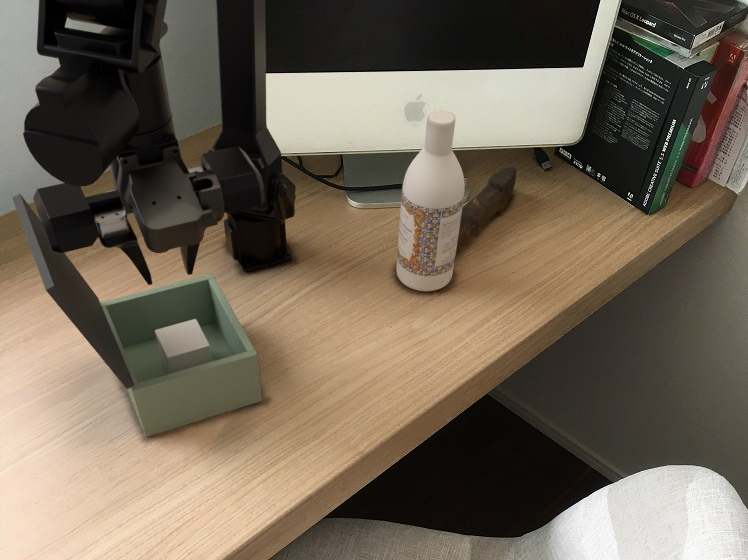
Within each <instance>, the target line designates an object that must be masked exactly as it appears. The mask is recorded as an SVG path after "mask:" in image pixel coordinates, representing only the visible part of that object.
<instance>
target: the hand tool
mask: <svg viewBox="0 0 748 560" xmlns="http://www.w3.org/2000/svg"><path fill="white" fill-rule="evenodd" d="M516 180H517V168H516V167H515V166H513V165H511V166H510V165H509V166H507V165H505V166H504V167H503V168H501V169H500V170H498V171H496V172H495V173H493V174H491V176H490V177H489V178H488V180H487V184H486V185H485V186H484V187H483V188H482V189H481V191H479V193H477V194H476V195H475V196H474V197H472V198H471V199H470V200H469V201H468V202H467V203H466V204H465V205H463V207H462V214H461V221H460V227H459V234H458V241H457V248H456V254H457V253H458V251H459V250H460V249H461V247H462V245H463V244H465V243H466V242H467V241H469V239H470V238H471V237H472V235H474V234H475V233H476V232H478V231H479V229H480V228H481V227H482V226H483V225H484V224H485V223H486V222H487V221H488V220H489V219H490V218H491V217H493V216H494V215H495V214H500V213H502V212H503V210H504V209H505V207H506V206H507V205H508V203H509V201H510V199H511V197H512V194H513V193H514V188H515V185H516Z"/></svg>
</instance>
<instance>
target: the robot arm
mask: <svg viewBox="0 0 748 560" xmlns="http://www.w3.org/2000/svg"><path fill="white" fill-rule="evenodd" d="M167 3H168V0H38V13H37V14H38V16H37V32H36V35H37V36H36V52H37V54H38V55H39V56H43V57H47V58H53V59H58V64H59V65H60V66H59V67H58V68H57V69H56V70H55V71H53V72H52V73H51V74H50V75H48V76H45V77H43V78H42V79H41V80H40V81H39V82H38V83H37V84H35V88H34V90H35V94H36V97H37V103H35V105H34V106H33V107H31V109H30V110H29V111H28V112H27V114H26V115H25V119H24V121H23V130H24V131H23V133H22V136H23V139H24V142H25V144H26V145H25V146H26V147H27V149H28V152H30V154H31V156H32V157H33V159H34V160H35V161H36V162H37V164H38V165H39V166H40V167H41V168H42V169H43V170H44V171H45V172H47V173H48V174H49V175H50V176H51V177H53V178H55V179H57V180H58V181H60V182H61V183H58V184H54V185H49V186H44V187H39V188H36V191H35V192H34V195H33V197H32V199H33V203H34V205H35V208H36V211H37V214H38V218H39V219H40V221H41V222H42V224H43V227H44V229H45V232H46V235H47V237H48V240H49V242H50V245H51V247H52V250H53V251H55V252H59V253H68V252H72V251H76V250H81V249H84V248H89V247H93V246H94V244H95V242H96V241H97V240H99V242H100V244H101V246H102V247H104V248H106V249H111V248H118V249H119V250H121V251H122V252H123V253H124V254H125V255H126V256H127V257H128V258H129V260H130V261H131V262H132V264H133V265H134V266H135V268H136V269H137V271H138V273H139V274H140V275H141V277H142V278H143V280H144V281H145V283H146V284H147V286H152V285H153V279H152V275H151V271H150V268H149V266H148V264H147V262H146V261H147V260H146V259H145V256H144V254H143V253H144V252H143V251H142V248H141V246H140V244H139V239H138V237H137V235H136V233H135V231H134V229H133V227H132V225H131V223H130V221H129V217H128V216H129V215H133V216H134V218H135V220H136V223H137V225H138V228H139V230H140V233H141V235H142V238H143V241H144V244H145V246H146V248H147V249H148V250H149V251H150V252H151V253H155V254H164V253H167V252H168V251H170V250H173V249H178V248H180V255H181V259H182V263H183V267H184V270H185V272H186V274H187V276H190V275H193V273H194V268H195V264H196V260H197V258H198V253H199V248H200V245H201V243H202V242H203V240H204V237H205V231H206V230H207V228H211V227H214V226H218V224H219V222H221V221H222V220H223V218H224V216H225V214H226V216H227V217H226V218H225V219H224V220H223V228H224V235H225V242H226V243H225V244H226V249H227V250H228V252H229V254H230V256H231V257H232V259H233V260H234V261H236V262H237V263H238V266H239V267H240V270H242V272H245V273H247V272H248V273H249V272H251V271H255V270H259V269H263V268H267V267H271V266H274V265H278V264H281V263H286V262H290V261H292V260H293V254H292V253H291V251H290V249H289V248H288V245H287V229H286V227H287V226H286V220H288V219H291V218H294V217H295V215H296V208H295V202H296V199H297V195H296V184H295V183H293V181H291V180H290V178H288V177H287V176H286V175H285V174H284V173H283V161H282V160H283V159H282V152H281V150H280V148H279V146H278V144H277V143H276V141H275V139H274V136H273V135H272V133H271V132H270V131H269V128H268V125H267V52H266V51H267V48H266V47H267V46H266V45H267V41H266V37H267V36H266V35H267V33H266V0H215V11H216V12H215V13H216V34H217V54H218V55H217V56H218V58H217V59H218V76H219V94H220V95H219V96H220V97H219V98H220V117H221V130H220V133H219V134H218V136H217V137H216V139H215V142H214V143H213V145H212V147H211V149H209V150H208V151H207V152H205V153H202V154H201V156H200V157H199V160H200V165H201V166H196V167H191V168H188V167H187V165H186V164H185V162H184V160H183V158H182V153H181V149H180V147H179V141H178V139H177V136H176V131H175V125H174V119H173V113H172V108H171V102H170V98H169V97H170V96H169V91H168V86H167V85H168V84H167V80H166V73H165V69H164V62H163V56H162V50H161V46H160V45H161V40H162V38H163V37H165V35H166V34H167V33H168V30H169V27H168V24H167V22H165V16H166V11H167V9H166V8H167ZM68 19H69V20H71V21H74V22H80V23H85V24H93V25H96V26H97V25H98V26H104V27H103V29H102V30H100V32H94V31H89V30H82V29H78V28H71V27H66V24H67V20H68ZM108 168H109V169H110V175H111V178H112V181H113V186H114V189H112V190H107V191H104V192H102V193H98V194H93V195H87V196H86V195H85V193H84V191H83V189H82V187H88V186H91V185H93V184H94V183H96V182H97V181H98V180H99V179H100V178H101V177H102V176H103V174H104V173H105V172H106V170H108Z"/></svg>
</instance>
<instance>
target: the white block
mask: <svg viewBox="0 0 748 560" xmlns="http://www.w3.org/2000/svg"><path fill="white" fill-rule="evenodd" d="M155 334H156V338H157V342H158V346H159V350H160V354H161V358H162V362H163V364H164V366H165V368H166V371H167V373H168V374H171V373H175V372H178V371H182V370H185V369H189V368H192V367H195V366H199V365H202V364H206V363H209V362H213V360H212V355H211V349H210V345H209V343H208V341H207V339H206V337H205V335H204V333H203V331H202V329H201V327H200V325H199V324H198V322H197V320H196V319H193V320H190V321H186V322H182V323H179V324H175V325H172V326H168V327H164V328H161V329H157V330H155Z"/></svg>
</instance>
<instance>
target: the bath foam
mask: <svg viewBox="0 0 748 560" xmlns="http://www.w3.org/2000/svg"><path fill="white" fill-rule="evenodd" d="M455 125H456V115H455V114H454V113H453V111H450V110H448V109H443V108H438V109H437V108H436V109H433V110H431V111H429V112H428V114H427V116H426V126H425V136H424V137H425V138H424V147H423V148H422V149H421V150H420V151H419V152H418V153H417V154H416V156H415V157H414V158H413V159H412V161H411V162H410V164H409V166H408V167H407V169H406V172H405V175H404V177H403V182H402V187H401V199H400V201H401V202H400V212H399V225H398V226H399V227H398V238H397V239H398V240H397V241H398V242H397V254H396V269H395V270H396V276H397V278H398V280H399V281H400V282H401V283H402V284H403V285H404V286H405V287H407V288H410V289H412V290H415V291H417V292H419V291H420V292H432V291H437V290H440V289H442V288H445V287H446V286H447V285H448V284H449V283H450V282H451V280H452V277H453V274H454V266H455V260H456V254H457V253H456V248H457V241H458V234H459V227H460V221H461V214H462V207H463V206H464V200H465V176H464V172H463V169H462V167H461V164H460V163H459V160H458V159H457V156H456V154H455V153H454V151H453V142H454V136H455V128H456V126H455Z"/></svg>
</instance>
